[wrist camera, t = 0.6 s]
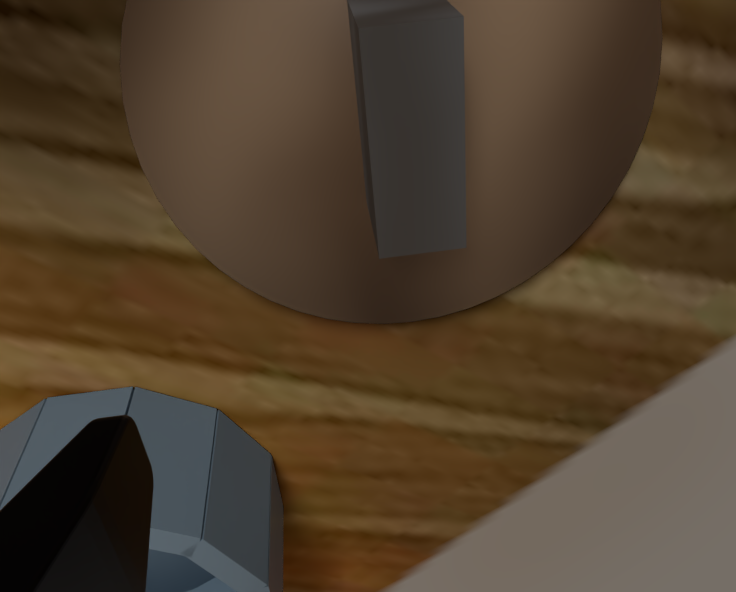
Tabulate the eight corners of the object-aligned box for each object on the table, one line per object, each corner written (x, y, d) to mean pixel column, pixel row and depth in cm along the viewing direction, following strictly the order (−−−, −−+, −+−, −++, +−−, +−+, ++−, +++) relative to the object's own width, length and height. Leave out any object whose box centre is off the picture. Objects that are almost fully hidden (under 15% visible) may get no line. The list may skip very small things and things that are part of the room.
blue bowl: (252, 371, 22) (243, 496, 18) (298, 570, 27) (300, 703, 23) (-75, 413, 21) (-163, 552, 17) (38, 607, 27) (-8, 748, 23)
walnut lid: (682, -256, 15) (800, -286, 11) (615, 276, 22) (676, 355, 18) (51, -191, 14) (-22, -204, 11) (194, 330, 21) (177, 420, 18)
